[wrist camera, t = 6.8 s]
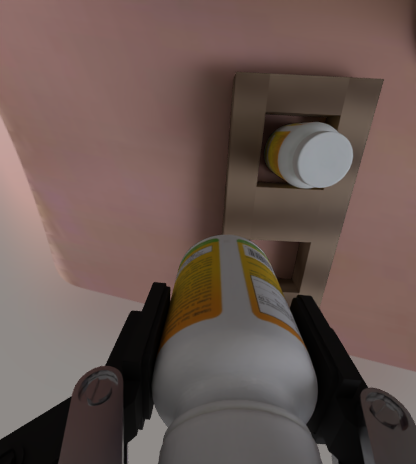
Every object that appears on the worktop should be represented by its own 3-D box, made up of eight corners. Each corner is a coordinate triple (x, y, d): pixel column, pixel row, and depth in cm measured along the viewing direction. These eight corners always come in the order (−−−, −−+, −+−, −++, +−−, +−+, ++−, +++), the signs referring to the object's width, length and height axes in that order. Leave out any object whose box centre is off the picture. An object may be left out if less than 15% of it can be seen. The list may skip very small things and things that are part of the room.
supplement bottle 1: (179, 307, 15) (128, 565, 6) (178, 229, 13) (99, 448, 4) (264, 311, 15) (337, 576, 6) (277, 234, 13) (418, 465, 4)
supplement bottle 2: (300, 113, 25) (350, 102, 16) (319, 159, 26) (374, 172, 18) (254, 142, 26) (276, 147, 17) (275, 184, 28) (306, 209, 19)
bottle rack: (233, 79, 24) (236, 71, 21) (363, 85, 24) (384, 79, 21) (217, 293, 34) (218, 308, 31) (309, 298, 34) (317, 313, 31)
